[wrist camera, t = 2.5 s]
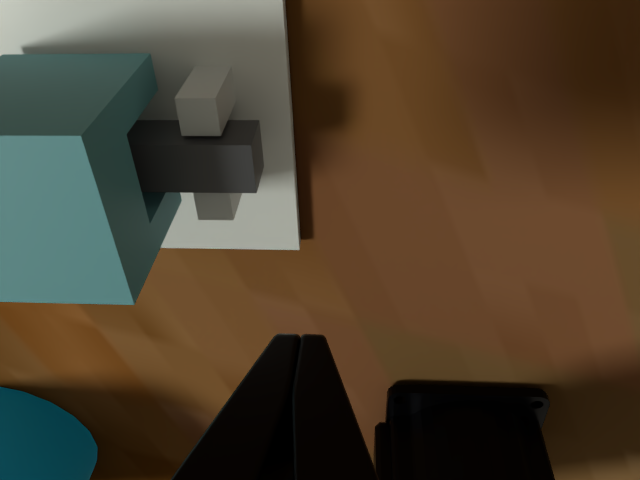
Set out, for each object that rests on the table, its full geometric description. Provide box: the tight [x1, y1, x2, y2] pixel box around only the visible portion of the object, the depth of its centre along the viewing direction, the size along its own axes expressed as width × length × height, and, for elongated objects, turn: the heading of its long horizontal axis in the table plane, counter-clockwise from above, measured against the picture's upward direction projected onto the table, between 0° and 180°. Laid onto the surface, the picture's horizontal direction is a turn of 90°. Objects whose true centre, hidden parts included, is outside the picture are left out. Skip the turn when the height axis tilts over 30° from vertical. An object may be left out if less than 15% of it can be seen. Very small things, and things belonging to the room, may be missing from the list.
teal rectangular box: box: [0, 53, 182, 305], centre depth 15 cm, size 4×5×5 cm
